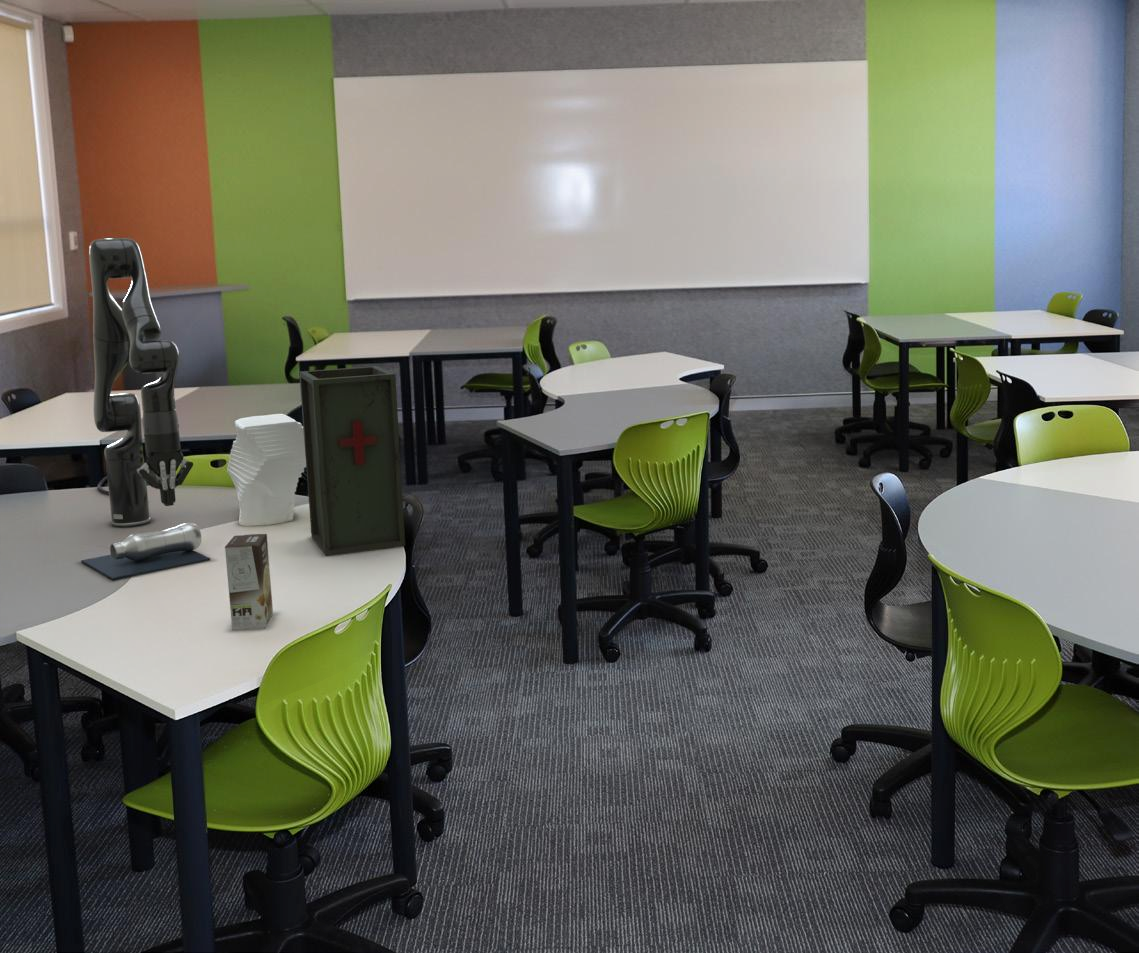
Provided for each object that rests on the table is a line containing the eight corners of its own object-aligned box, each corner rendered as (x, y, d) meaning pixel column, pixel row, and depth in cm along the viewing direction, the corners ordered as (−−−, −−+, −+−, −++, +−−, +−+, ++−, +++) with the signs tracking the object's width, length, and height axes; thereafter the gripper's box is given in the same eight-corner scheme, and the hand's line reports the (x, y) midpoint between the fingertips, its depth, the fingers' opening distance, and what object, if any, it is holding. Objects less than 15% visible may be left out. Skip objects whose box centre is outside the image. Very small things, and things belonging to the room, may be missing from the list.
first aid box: (325, 555, 275) (312, 380, 267) (311, 537, 292) (299, 371, 284) (405, 546, 282) (395, 374, 274) (387, 528, 299) (377, 366, 291)
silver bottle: (207, 540, 279) (121, 557, 266) (199, 553, 284) (114, 571, 271) (198, 515, 281) (112, 532, 268) (189, 529, 286) (105, 546, 273)
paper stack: (235, 531, 300) (226, 428, 295) (229, 508, 325) (221, 413, 320) (321, 523, 306) (314, 422, 301) (309, 501, 332) (302, 407, 326)
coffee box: (266, 628, 226) (259, 545, 223) (231, 630, 225) (223, 547, 222) (274, 613, 235) (267, 532, 232) (240, 615, 234) (233, 534, 231)
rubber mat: (81, 562, 276) (81, 560, 276) (175, 544, 289) (175, 542, 289) (112, 580, 261) (112, 578, 260) (210, 560, 274) (210, 558, 274)
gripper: (183, 424, 280) (190, 498, 284) (125, 432, 272) (133, 507, 275) (196, 428, 274) (203, 503, 278) (138, 435, 266) (146, 512, 270)
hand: (168, 505), depth 277 cm, fingers closed
